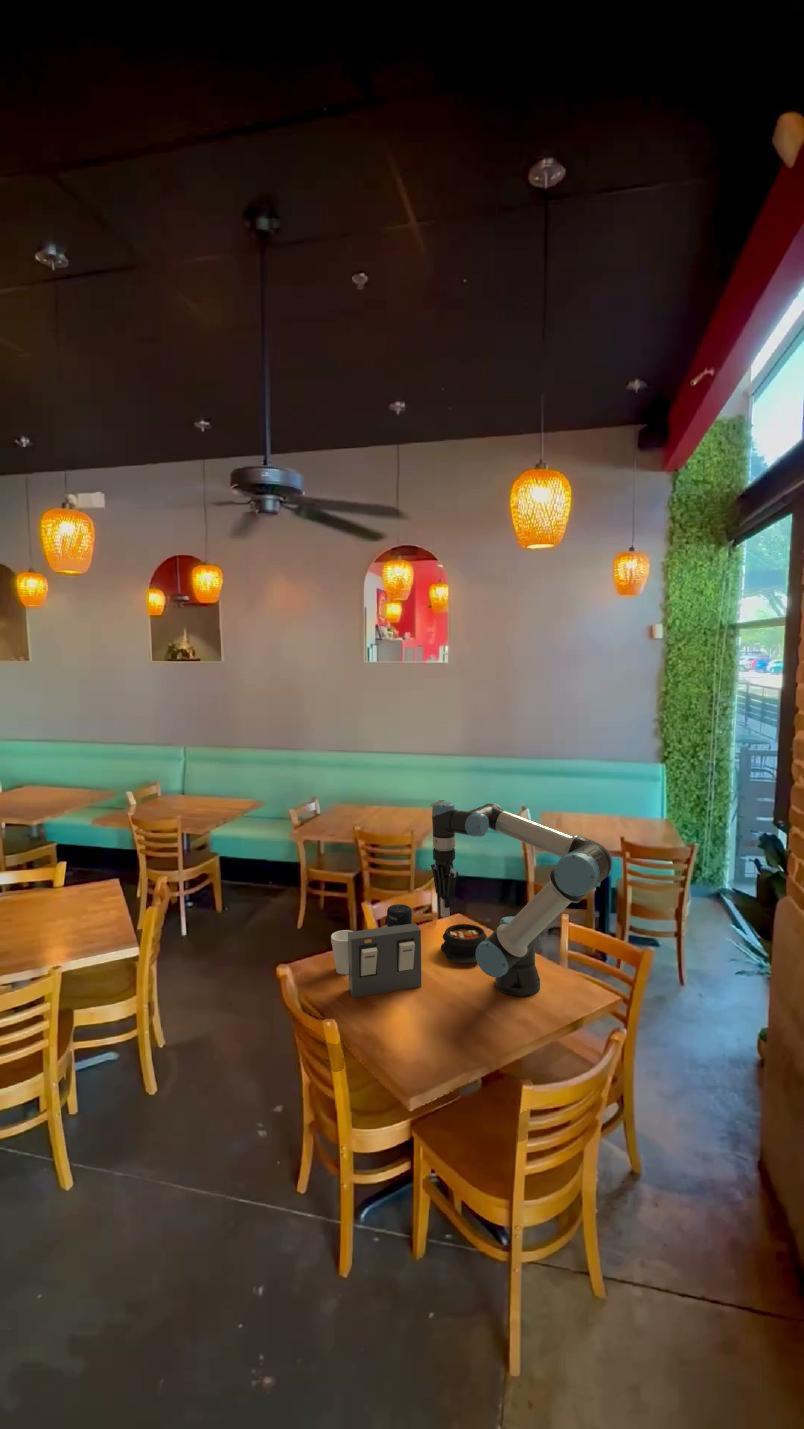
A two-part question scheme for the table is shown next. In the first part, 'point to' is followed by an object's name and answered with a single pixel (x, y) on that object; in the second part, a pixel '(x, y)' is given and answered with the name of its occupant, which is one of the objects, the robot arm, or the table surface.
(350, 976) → the switch panel
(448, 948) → the casserole
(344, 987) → the table surface
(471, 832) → the robot arm
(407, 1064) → the table surface
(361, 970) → the left rocker
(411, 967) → the right rocker
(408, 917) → the canister
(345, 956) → the foam cup
